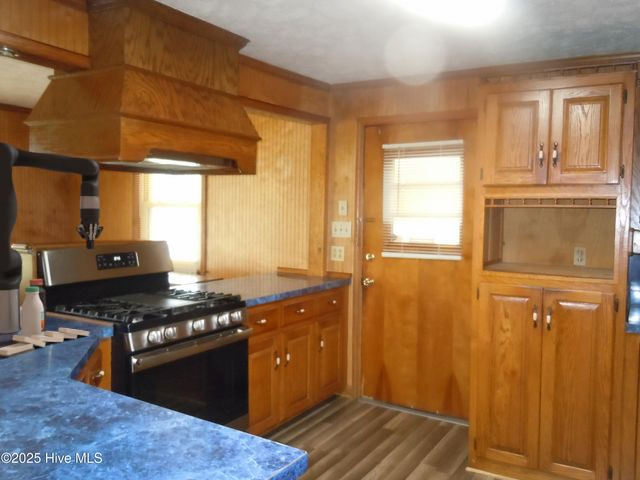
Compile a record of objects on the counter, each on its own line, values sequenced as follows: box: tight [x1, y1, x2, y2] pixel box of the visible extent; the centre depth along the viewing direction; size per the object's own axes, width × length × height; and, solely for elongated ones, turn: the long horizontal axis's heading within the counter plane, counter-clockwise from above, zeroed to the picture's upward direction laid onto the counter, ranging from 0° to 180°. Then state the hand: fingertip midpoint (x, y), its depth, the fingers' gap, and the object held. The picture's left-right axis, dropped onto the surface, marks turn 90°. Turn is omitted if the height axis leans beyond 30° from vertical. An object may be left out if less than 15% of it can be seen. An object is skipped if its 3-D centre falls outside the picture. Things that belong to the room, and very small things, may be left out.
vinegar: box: [28, 278, 47, 328], centre depth 223 cm, size 7×7×20 cm
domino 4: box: [30, 335, 65, 343], centre depth 195 cm, size 2×5×10 cm
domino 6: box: [57, 326, 90, 337], centre depth 205 cm, size 2×5×10 cm
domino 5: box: [44, 330, 78, 339], centre depth 200 cm, size 2×5×10 cm
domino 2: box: [0, 346, 35, 358], centre depth 182 cm, size 2×5×10 cm
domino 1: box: [0, 342, 34, 355], centre depth 181 cm, size 2×5×10 cm
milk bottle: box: [20, 286, 45, 338], centre depth 201 cm, size 8×8×20 cm
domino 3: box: [12, 334, 47, 348], centre depth 187 cm, size 2×5×10 cm
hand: (90, 249), depth 221 cm, fingers closed
